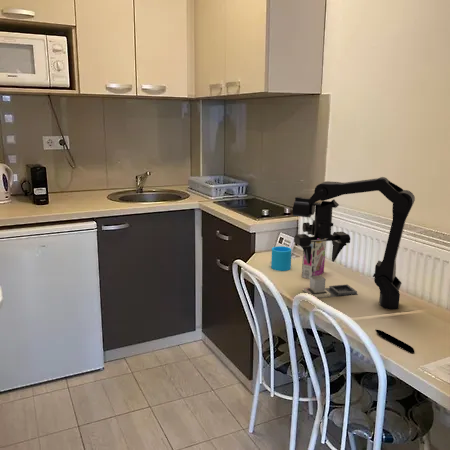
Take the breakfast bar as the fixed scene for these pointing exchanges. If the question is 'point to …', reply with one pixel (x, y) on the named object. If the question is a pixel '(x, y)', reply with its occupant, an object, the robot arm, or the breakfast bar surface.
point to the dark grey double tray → (334, 291)
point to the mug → (281, 258)
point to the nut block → (317, 284)
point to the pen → (395, 341)
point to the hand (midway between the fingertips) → (320, 262)
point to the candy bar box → (314, 260)
